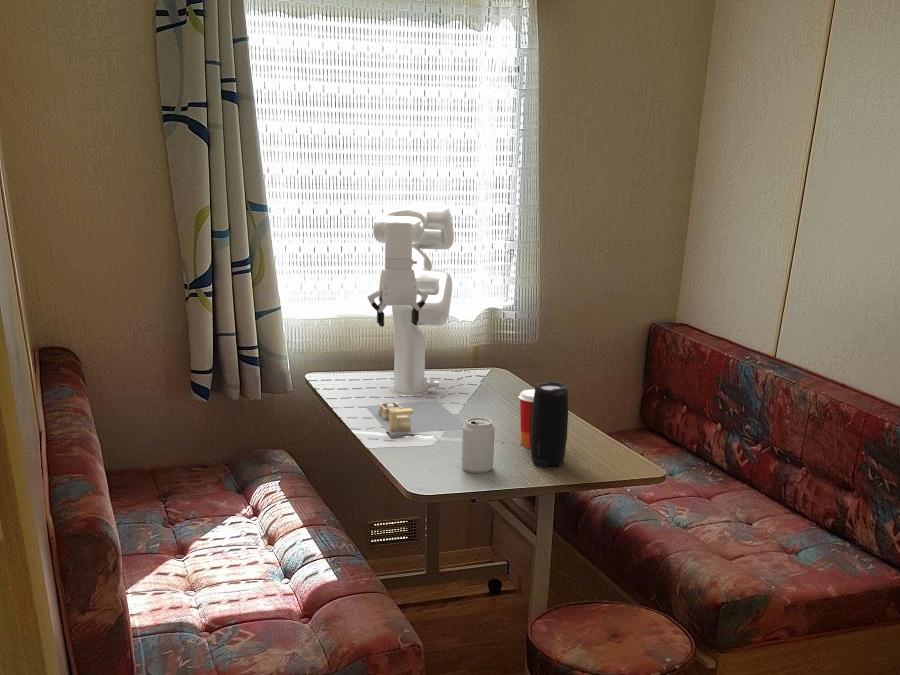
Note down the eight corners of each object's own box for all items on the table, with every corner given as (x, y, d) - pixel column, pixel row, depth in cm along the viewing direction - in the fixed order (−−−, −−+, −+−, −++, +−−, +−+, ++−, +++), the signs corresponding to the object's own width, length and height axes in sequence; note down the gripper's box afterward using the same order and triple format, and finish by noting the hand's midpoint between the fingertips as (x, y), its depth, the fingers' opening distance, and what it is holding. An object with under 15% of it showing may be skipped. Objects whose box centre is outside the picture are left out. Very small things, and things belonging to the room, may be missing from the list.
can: (460, 463, 196) (461, 415, 193) (490, 463, 197) (492, 415, 194) (463, 474, 189) (464, 425, 186) (495, 474, 189) (497, 425, 187)
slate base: (436, 403, 245) (436, 383, 244) (469, 431, 220) (469, 409, 219) (365, 409, 237) (365, 388, 236) (390, 438, 213) (391, 415, 211)
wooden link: (378, 413, 230) (378, 403, 230) (397, 412, 232) (397, 402, 231) (395, 431, 215) (395, 420, 214) (414, 430, 217) (415, 419, 216)
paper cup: (549, 442, 213) (552, 390, 210) (543, 451, 206) (545, 398, 203) (520, 438, 215) (522, 387, 212) (513, 447, 208) (515, 394, 205)
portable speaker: (550, 454, 204) (554, 378, 200) (573, 466, 196) (578, 388, 192) (521, 459, 200) (525, 382, 196) (543, 471, 192) (548, 391, 188)
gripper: (423, 262, 231) (422, 321, 235) (364, 263, 225) (364, 323, 229) (432, 265, 224) (431, 326, 228) (371, 266, 218) (371, 329, 222)
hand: (397, 325), depth 228 cm, fingers open, 9 cm apart
